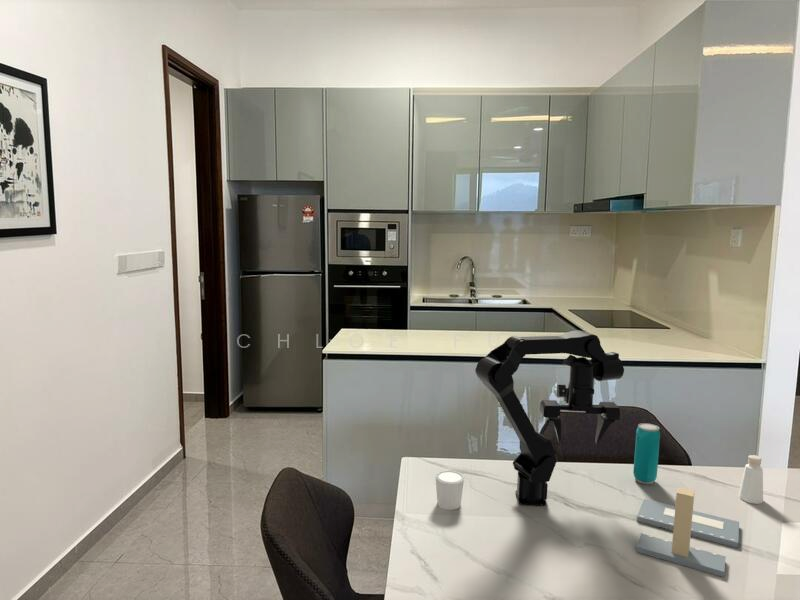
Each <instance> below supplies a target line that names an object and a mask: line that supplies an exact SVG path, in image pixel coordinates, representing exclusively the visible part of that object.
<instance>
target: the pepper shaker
mask: <svg viewBox="0 0 800 600" xmlns="http://www.w3.org/2000/svg"><path fill="white" fill-rule="evenodd" d="M747 458H748V460H747V461H748V462H747V463H746V464H745V465H744V470H743V472H742V473H743V474H742V478H741V481H740V487H739V489H738V490H739V491H738V498H739V499H740V500H742V501H744V502H746V503H748V504H755V505H759V504H762V503H764V471H763V468H762V466H761V465H762V457H760V456H759V455H756V454H755V455H754V454H749V455H748V457H747Z"/></svg>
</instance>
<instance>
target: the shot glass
mask: <svg viewBox="0 0 800 600" xmlns="http://www.w3.org/2000/svg"><path fill="white" fill-rule="evenodd" d="M464 481H465V476H464V474H462V473H460V472H458V471H454V470H442V471H439V472H438V473H436V474H435V488H436V501H437V504H436V505H438V507H439V508H440V509H444V510H448V511H452V510H457V509H459V508H460V507H461V506H462V498H463V489H464V483H465V482H464Z"/></svg>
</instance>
